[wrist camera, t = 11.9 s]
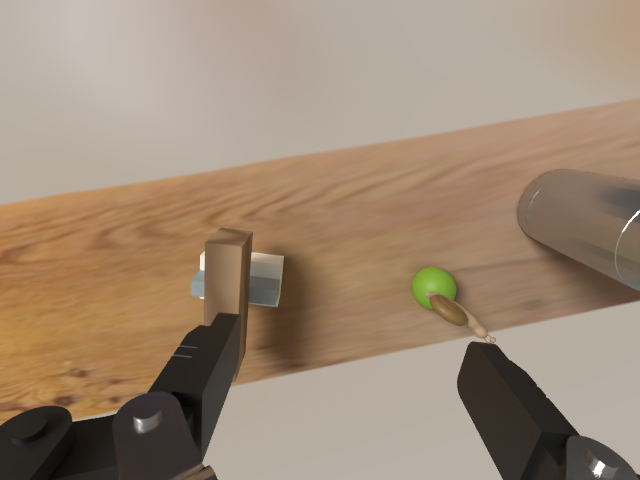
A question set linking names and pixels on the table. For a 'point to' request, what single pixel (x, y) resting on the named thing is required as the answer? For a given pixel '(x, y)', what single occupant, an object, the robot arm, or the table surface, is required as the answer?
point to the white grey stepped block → (252, 279)
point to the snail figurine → (444, 299)
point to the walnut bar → (228, 278)
